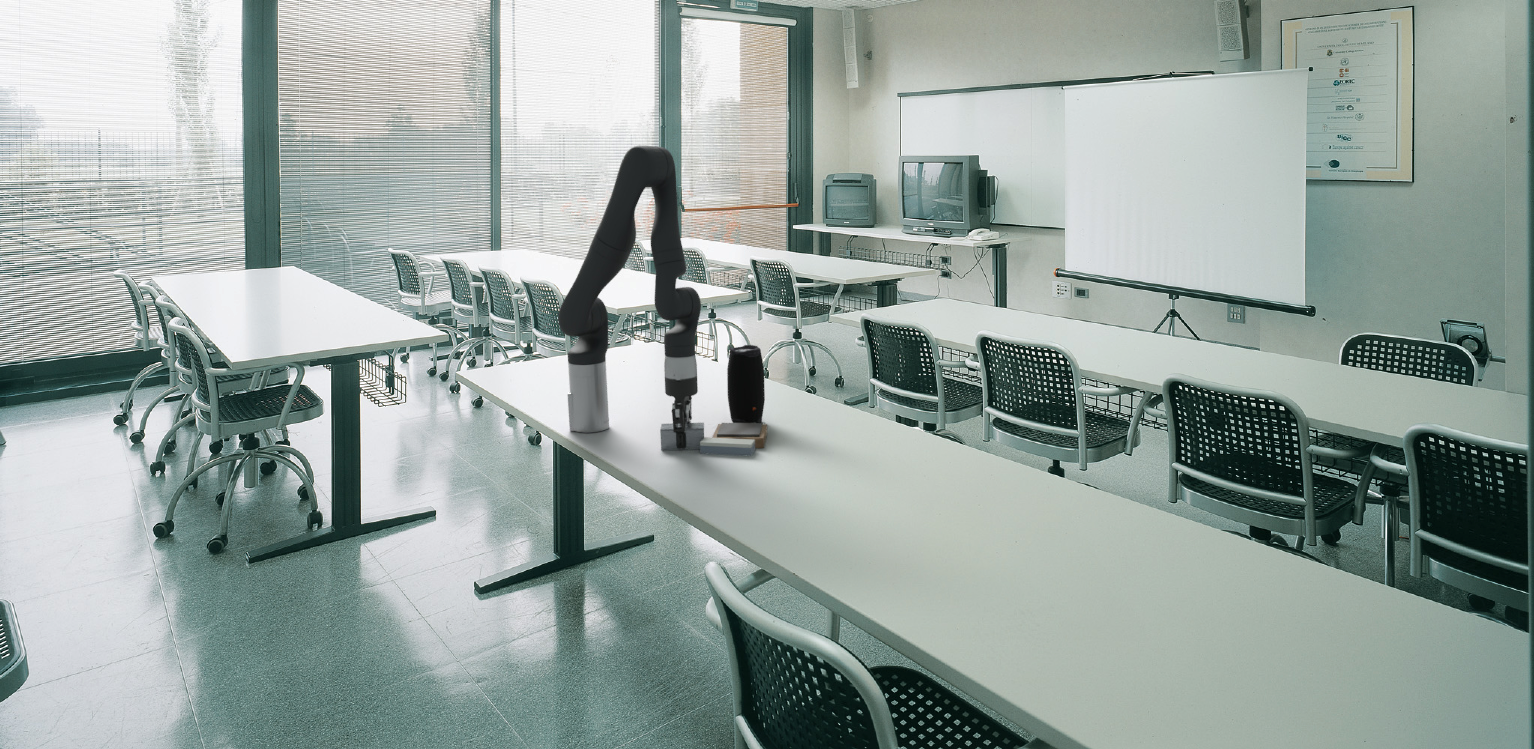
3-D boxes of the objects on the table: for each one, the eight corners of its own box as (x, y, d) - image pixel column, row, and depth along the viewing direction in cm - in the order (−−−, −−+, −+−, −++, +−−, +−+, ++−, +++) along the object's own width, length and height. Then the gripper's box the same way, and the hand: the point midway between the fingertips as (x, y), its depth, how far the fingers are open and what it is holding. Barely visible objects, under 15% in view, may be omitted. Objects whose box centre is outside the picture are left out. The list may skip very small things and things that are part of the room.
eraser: (700, 454, 219) (700, 442, 218) (705, 449, 223) (704, 437, 222) (751, 457, 216) (751, 444, 216) (755, 452, 220) (754, 439, 220)
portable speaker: (766, 426, 240) (765, 350, 236) (729, 427, 239) (727, 351, 235) (763, 417, 248) (762, 343, 244) (727, 418, 248) (725, 345, 243)
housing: (661, 450, 222) (660, 429, 220) (662, 444, 226) (661, 423, 225) (704, 448, 222) (703, 428, 221) (704, 442, 227) (703, 422, 226)
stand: (712, 447, 223) (711, 435, 222) (718, 433, 234) (718, 421, 234) (763, 448, 222) (763, 435, 221) (767, 433, 234) (767, 421, 233)
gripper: (670, 367, 228) (672, 435, 231) (659, 381, 214) (662, 453, 217) (701, 367, 227) (703, 436, 231) (692, 381, 213) (694, 453, 217)
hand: (683, 444), depth 224 cm, fingers closed on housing, 5 cm apart
